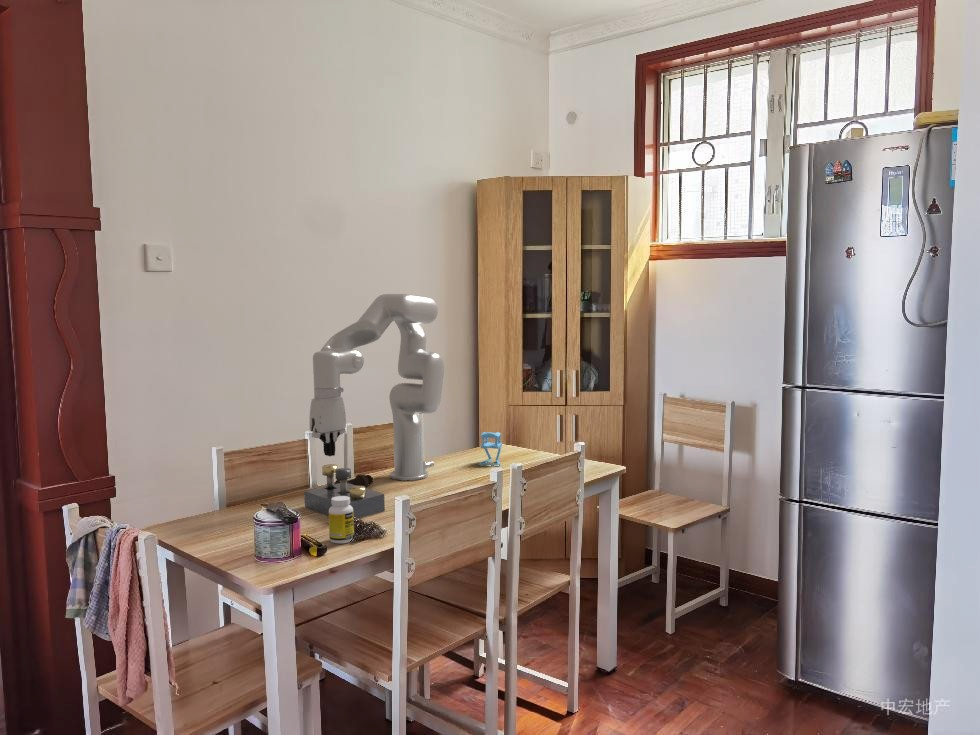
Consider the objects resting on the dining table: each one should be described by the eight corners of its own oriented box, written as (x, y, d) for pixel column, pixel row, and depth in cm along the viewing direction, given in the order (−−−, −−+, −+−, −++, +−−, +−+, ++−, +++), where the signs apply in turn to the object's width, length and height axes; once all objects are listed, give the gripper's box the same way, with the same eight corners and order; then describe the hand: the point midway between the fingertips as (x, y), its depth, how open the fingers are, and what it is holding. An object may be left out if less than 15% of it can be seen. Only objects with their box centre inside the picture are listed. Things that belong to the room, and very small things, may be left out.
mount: (345, 498, 242) (344, 482, 242) (384, 511, 228) (384, 494, 228) (305, 507, 233) (304, 490, 232) (343, 521, 219) (342, 504, 218)
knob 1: (332, 488, 238) (332, 463, 237) (341, 490, 235) (340, 465, 234) (320, 490, 235) (319, 466, 234) (328, 493, 232) (327, 468, 231)
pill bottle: (349, 544, 199) (347, 501, 198) (325, 543, 200) (324, 501, 199) (357, 537, 205) (356, 495, 204) (334, 536, 207) (333, 494, 205)
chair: (504, 461, 288) (504, 429, 287) (499, 466, 280) (499, 433, 279) (483, 461, 290) (483, 428, 289) (478, 466, 282) (477, 432, 281)
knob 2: (360, 510, 229) (359, 484, 228) (369, 513, 225) (368, 487, 225) (347, 513, 226) (346, 487, 225) (356, 516, 222) (355, 490, 222)
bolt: (372, 490, 258) (341, 500, 245) (361, 481, 260) (330, 490, 247) (379, 476, 256) (348, 485, 243) (368, 467, 258) (337, 475, 245)
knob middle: (346, 492, 233) (345, 467, 232) (354, 495, 230) (353, 469, 229) (333, 495, 230) (332, 469, 229) (341, 498, 227) (340, 472, 226)
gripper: (341, 389, 240) (343, 449, 242) (297, 395, 229) (300, 457, 231) (356, 391, 234) (358, 453, 236) (311, 397, 224) (314, 461, 226)
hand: (329, 455), depth 234 cm, fingers closed
